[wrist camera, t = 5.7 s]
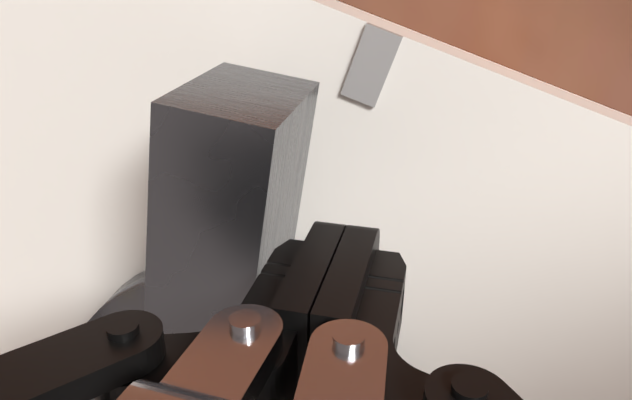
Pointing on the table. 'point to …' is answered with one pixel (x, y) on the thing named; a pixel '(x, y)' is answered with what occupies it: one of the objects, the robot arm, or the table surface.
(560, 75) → the table surface
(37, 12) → the dial plate
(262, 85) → the dial
